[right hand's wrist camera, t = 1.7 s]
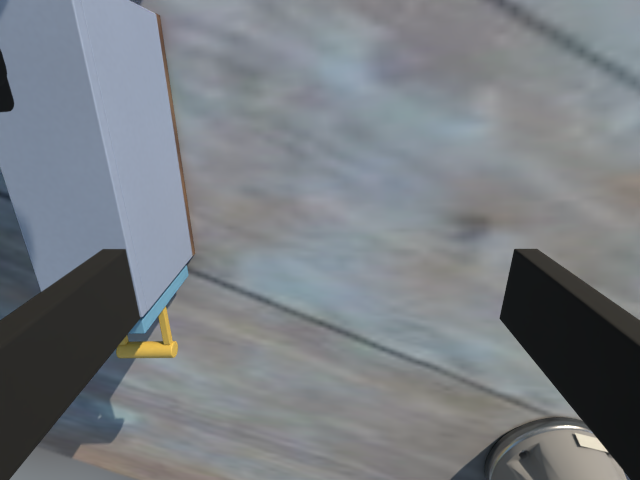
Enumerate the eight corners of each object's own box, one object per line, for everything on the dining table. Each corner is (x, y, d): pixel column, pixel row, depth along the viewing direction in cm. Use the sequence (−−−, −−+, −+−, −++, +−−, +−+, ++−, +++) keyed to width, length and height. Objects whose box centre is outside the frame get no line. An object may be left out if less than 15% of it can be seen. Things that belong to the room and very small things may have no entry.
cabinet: (195, 253, 36) (142, 318, 26) (128, 254, 36) (49, 318, 26) (159, 15, 29) (65, -34, 18) (76, 16, 29) (-67, -32, 18)
